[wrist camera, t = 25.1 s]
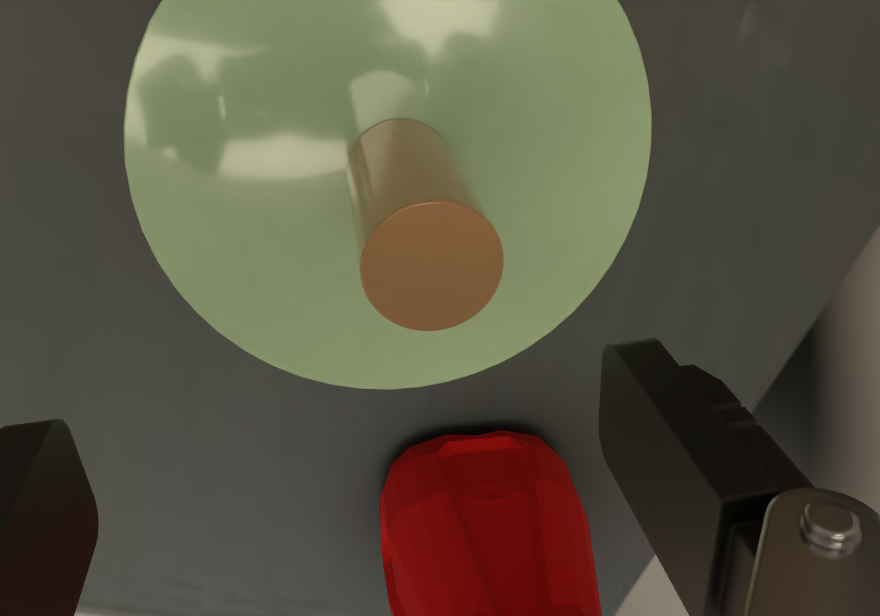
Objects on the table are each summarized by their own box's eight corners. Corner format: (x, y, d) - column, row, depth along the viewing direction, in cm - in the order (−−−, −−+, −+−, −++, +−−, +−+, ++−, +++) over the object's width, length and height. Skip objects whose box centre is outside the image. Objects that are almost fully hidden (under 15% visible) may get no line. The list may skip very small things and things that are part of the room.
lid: (193, 395, 22) (152, 574, 16) (65, -111, 16) (-74, -113, 10) (621, 340, 23) (724, 488, 17) (655, -145, 17) (831, -165, 11)
